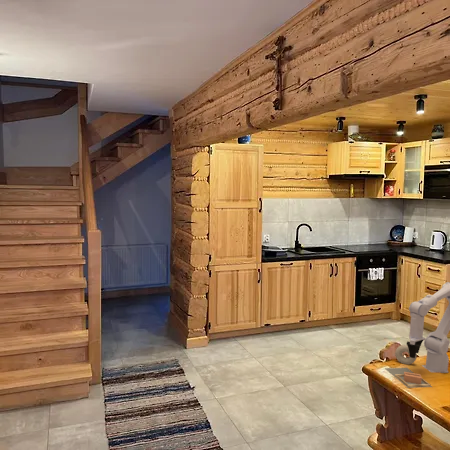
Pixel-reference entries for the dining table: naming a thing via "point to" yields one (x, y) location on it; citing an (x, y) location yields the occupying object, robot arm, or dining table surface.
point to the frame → (414, 384)
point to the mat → (401, 371)
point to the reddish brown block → (412, 377)
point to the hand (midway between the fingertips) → (414, 355)
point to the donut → (400, 357)
